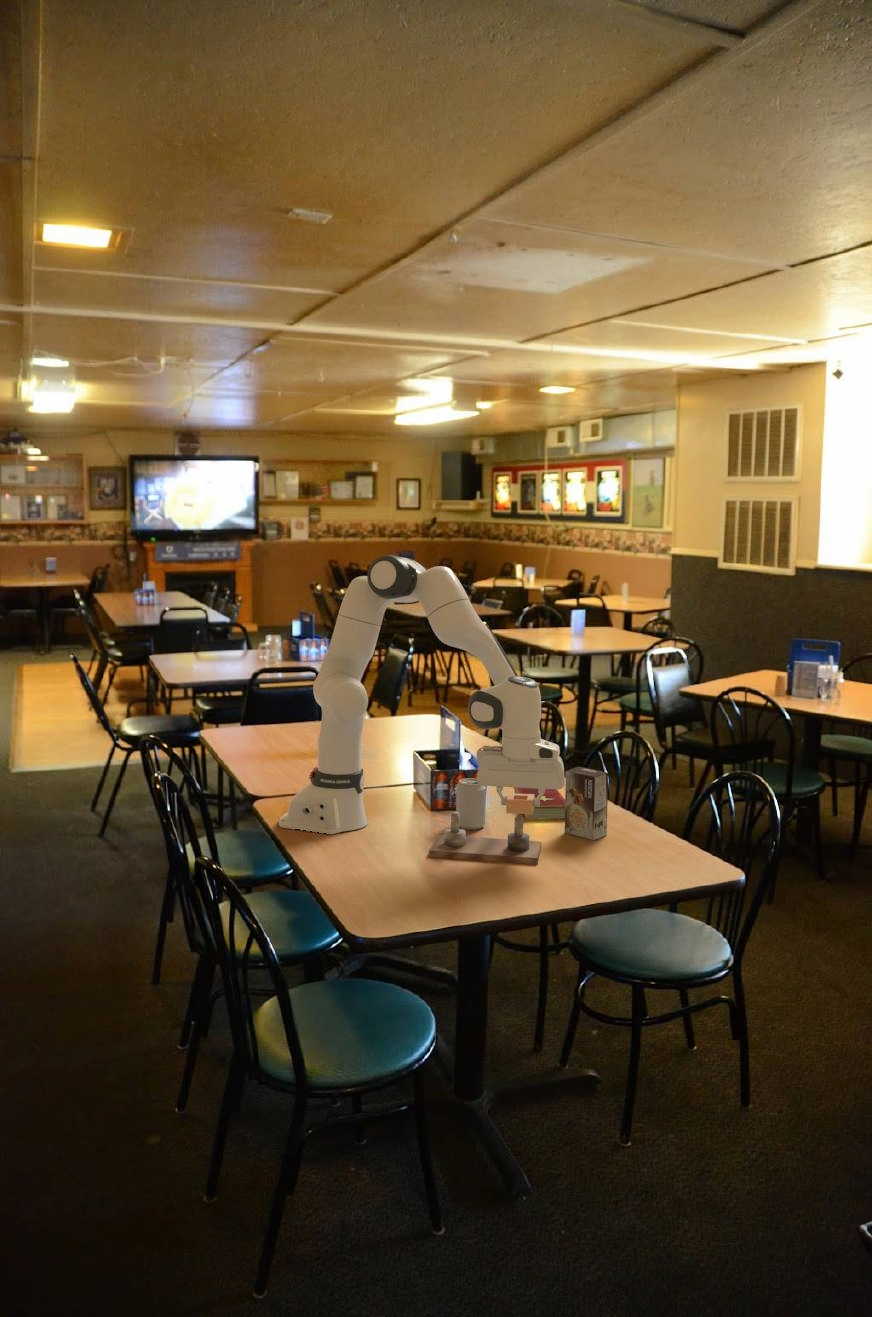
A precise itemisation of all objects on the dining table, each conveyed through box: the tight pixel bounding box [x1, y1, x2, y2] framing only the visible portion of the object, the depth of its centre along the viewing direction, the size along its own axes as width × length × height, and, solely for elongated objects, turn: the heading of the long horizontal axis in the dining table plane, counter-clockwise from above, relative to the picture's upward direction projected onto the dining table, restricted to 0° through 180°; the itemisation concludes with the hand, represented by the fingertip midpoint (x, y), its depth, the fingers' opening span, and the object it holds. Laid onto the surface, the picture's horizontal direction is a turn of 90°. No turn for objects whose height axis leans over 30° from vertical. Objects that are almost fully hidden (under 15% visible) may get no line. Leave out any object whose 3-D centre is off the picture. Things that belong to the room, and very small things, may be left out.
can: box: [455, 777, 487, 831], centre depth 255 cm, size 8×8×12 cm
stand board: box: [428, 811, 542, 865], centre depth 236 cm, size 25×12×10 cm, turn 80°
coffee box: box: [564, 766, 609, 841], centre depth 250 cm, size 9×6×16 cm
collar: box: [505, 793, 534, 815], centre depth 234 cm, size 6×6×3 cm
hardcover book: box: [512, 787, 565, 820], centre depth 273 cm, size 12×21×4 cm, turn 5°
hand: (520, 805), depth 234 cm, fingers closed on collar, 6 cm apart
